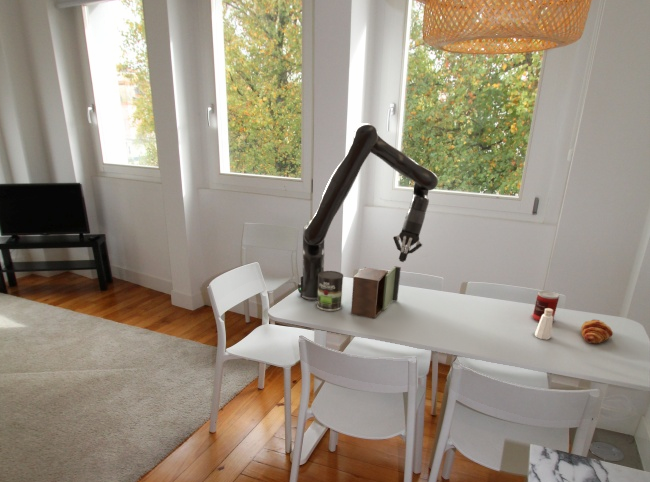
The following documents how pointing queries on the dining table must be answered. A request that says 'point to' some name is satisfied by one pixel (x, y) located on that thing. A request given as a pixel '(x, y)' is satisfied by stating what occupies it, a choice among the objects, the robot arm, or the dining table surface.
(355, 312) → the closet
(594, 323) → the croissant
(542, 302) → the canned food
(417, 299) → the dining table surface
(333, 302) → the coffee can
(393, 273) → the sliding door
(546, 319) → the pepper shaker
